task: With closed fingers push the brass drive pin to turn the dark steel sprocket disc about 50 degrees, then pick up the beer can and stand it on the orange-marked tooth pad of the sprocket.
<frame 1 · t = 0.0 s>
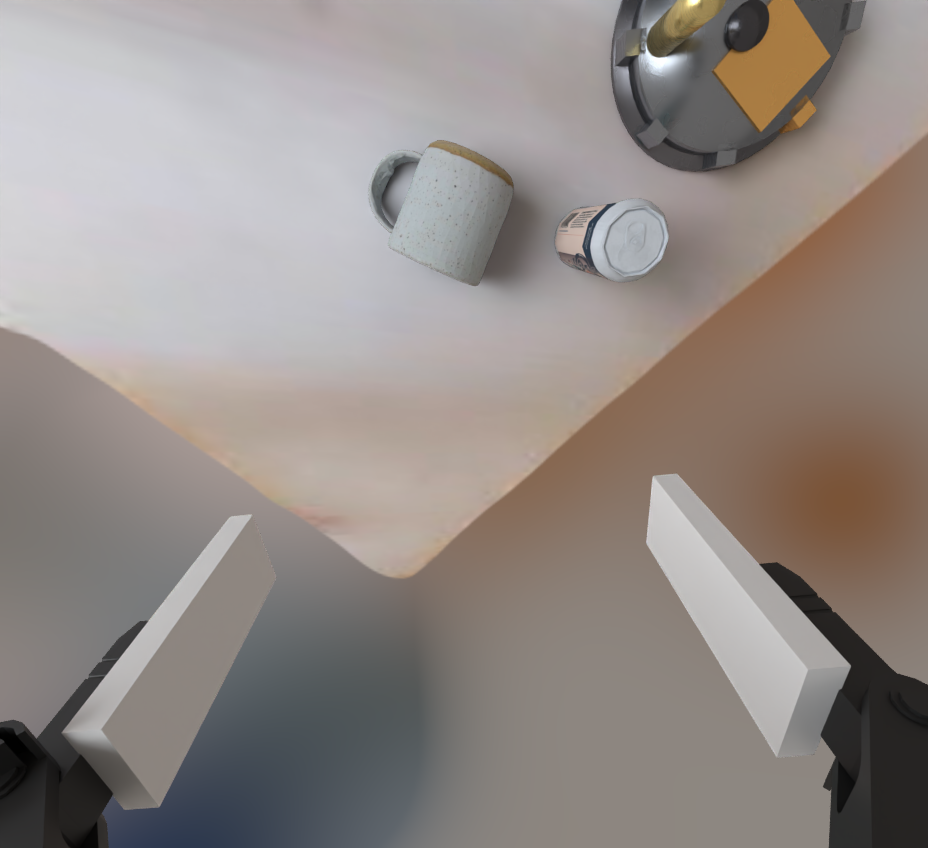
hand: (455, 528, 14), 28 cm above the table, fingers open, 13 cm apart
beer can: (580, 238, 37), on the table
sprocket: (763, 15, 27), point 5 cm above the table, hinge at 0.0°
ceramic mug: (436, 214, 36), on the table
hub plate: (720, 44, 31), on the table
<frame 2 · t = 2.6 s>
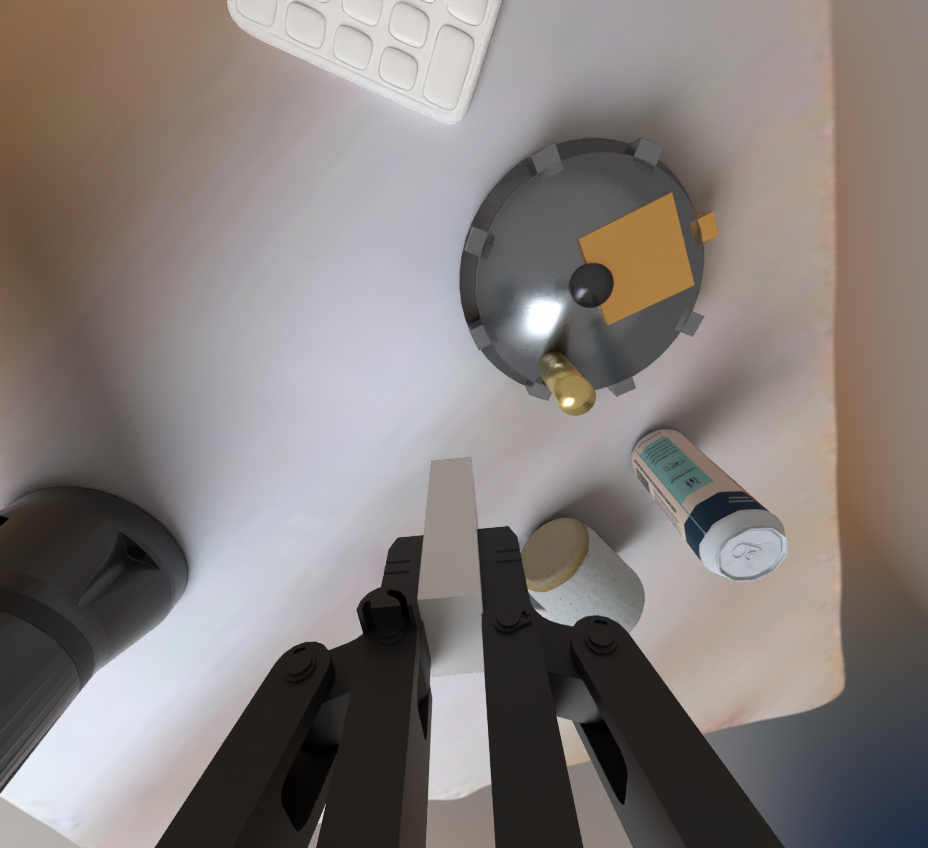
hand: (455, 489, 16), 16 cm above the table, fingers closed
beer can: (656, 451, 35), on the table
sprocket: (599, 289, 25), point 5 cm above the table, hinge at 0.0°
ceramic mug: (555, 555, 39), on the table
hub plate: (577, 280, 29), on the table
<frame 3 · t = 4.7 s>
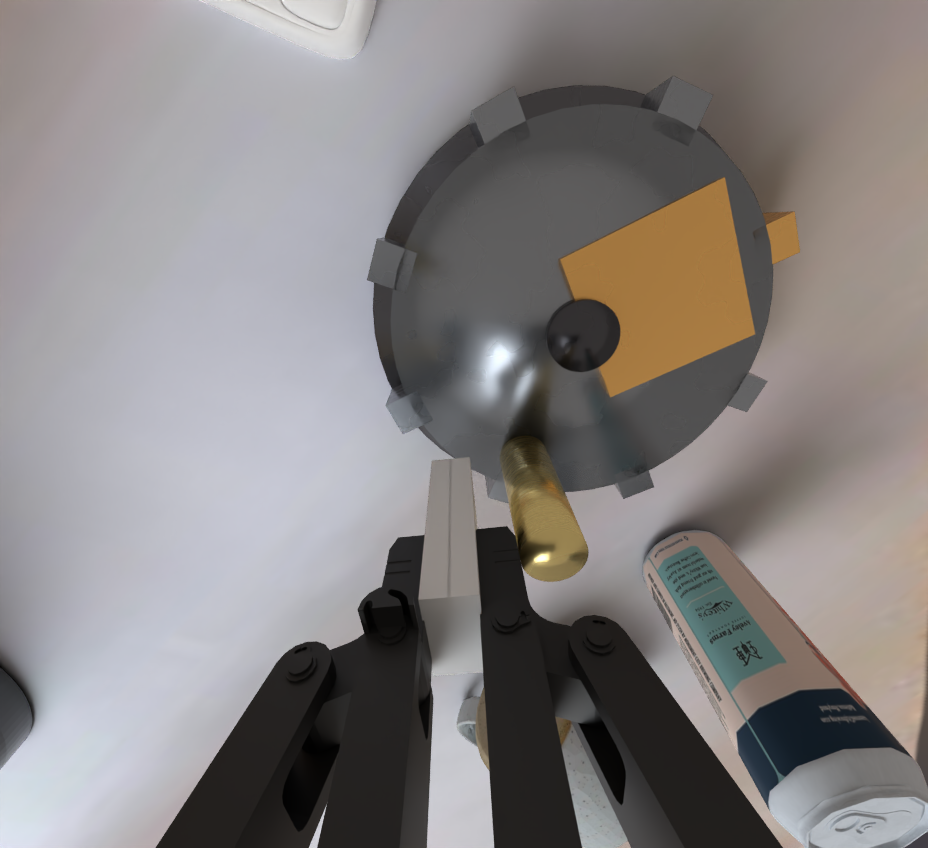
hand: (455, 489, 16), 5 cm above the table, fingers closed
beer can: (679, 555, 24), on the table
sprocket: (596, 347, 14), point 5 cm above the table, hinge at 0.1°, touching gripper
ceramic mug: (532, 683, 29), on the table
hub plate: (562, 319, 18), on the table
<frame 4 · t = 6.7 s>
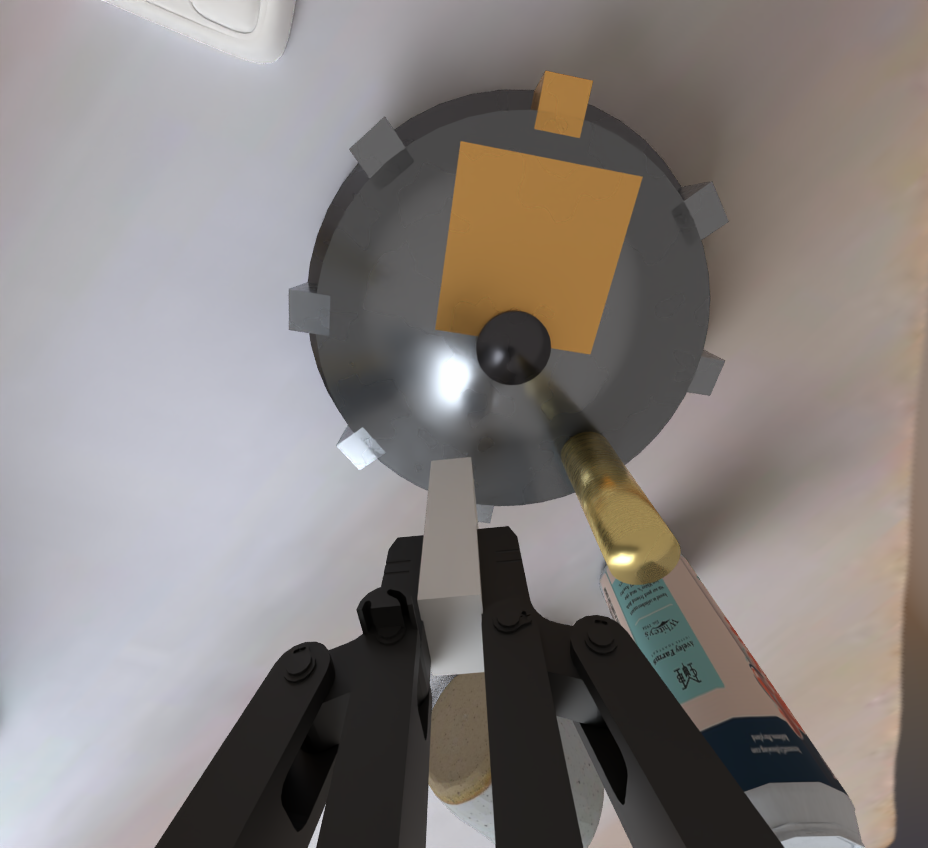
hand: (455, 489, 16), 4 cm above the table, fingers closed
beer can: (638, 569, 24), on the table
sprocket: (518, 361, 14), point 5 cm above the table, hinge at 54.9°
ceramic mug: (489, 698, 28), on the table
hub plate: (504, 329, 18), on the table
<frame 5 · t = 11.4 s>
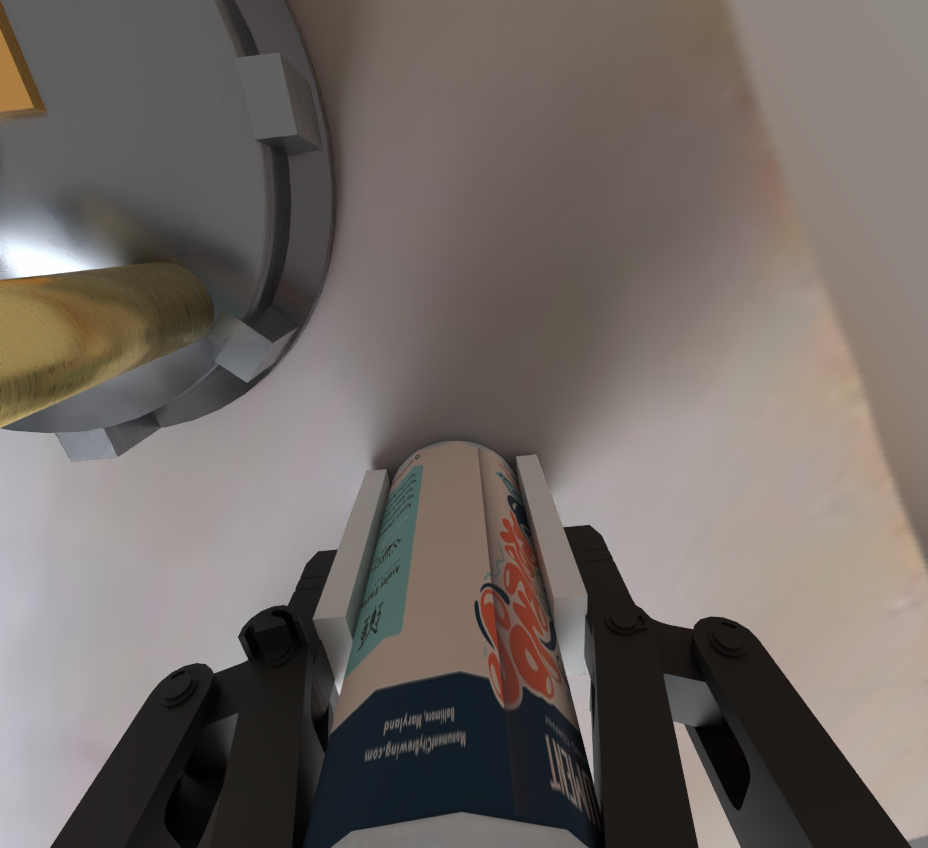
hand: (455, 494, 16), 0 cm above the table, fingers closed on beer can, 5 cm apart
beer can: (455, 487, 16), on the table, touching gripper
hub plate: (36, 157, 12), on the table
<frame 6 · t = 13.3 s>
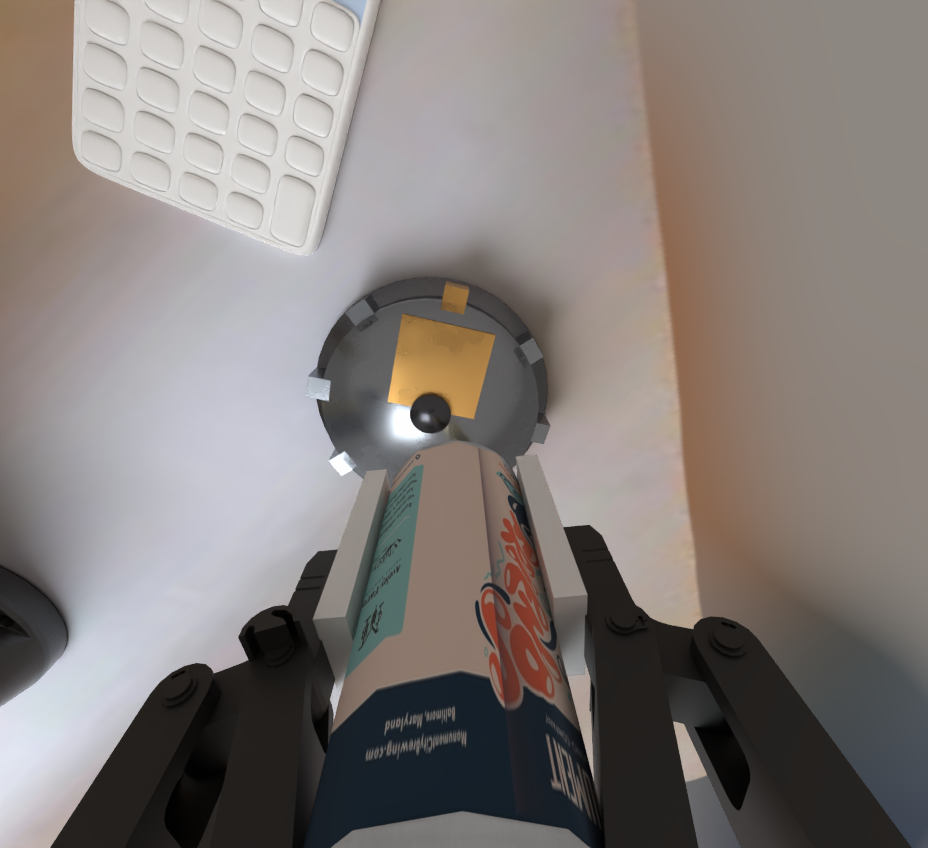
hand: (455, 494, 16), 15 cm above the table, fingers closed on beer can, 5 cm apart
beer can: (455, 487, 16), point 14 cm above the table, touching gripper
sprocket: (429, 424, 26), point 5 cm above the table, hinge at 54.9°
calculator: (240, 17, 22), on the table
hub plate: (432, 396, 30), on the table
when the fingers open (5 cm above the table, at t = 15.5 s): beer can drops 1 cm, resting on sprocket.
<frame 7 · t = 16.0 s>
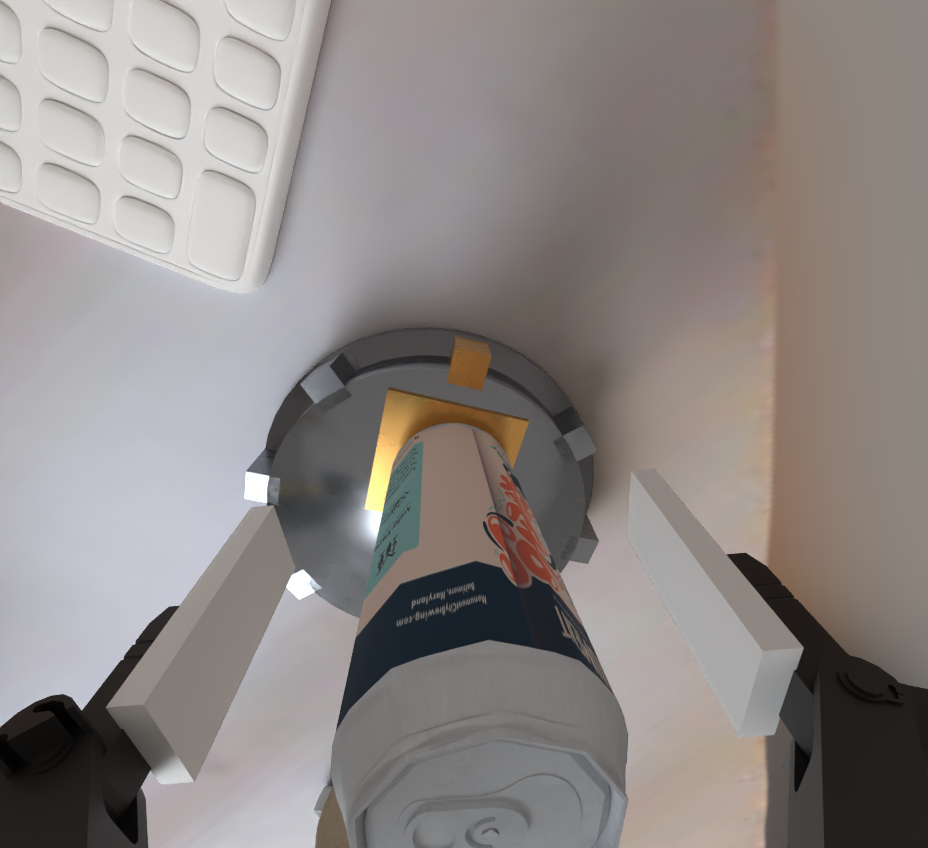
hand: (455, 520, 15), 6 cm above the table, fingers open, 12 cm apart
beer can: (450, 472, 17), point 3 cm above the table, touching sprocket
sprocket: (425, 551, 17), point 5 cm above the table, hinge at 54.9°, touching beer can
ceramic mug: (388, 773, 32), on the table
hub plate: (431, 487, 21), on the table
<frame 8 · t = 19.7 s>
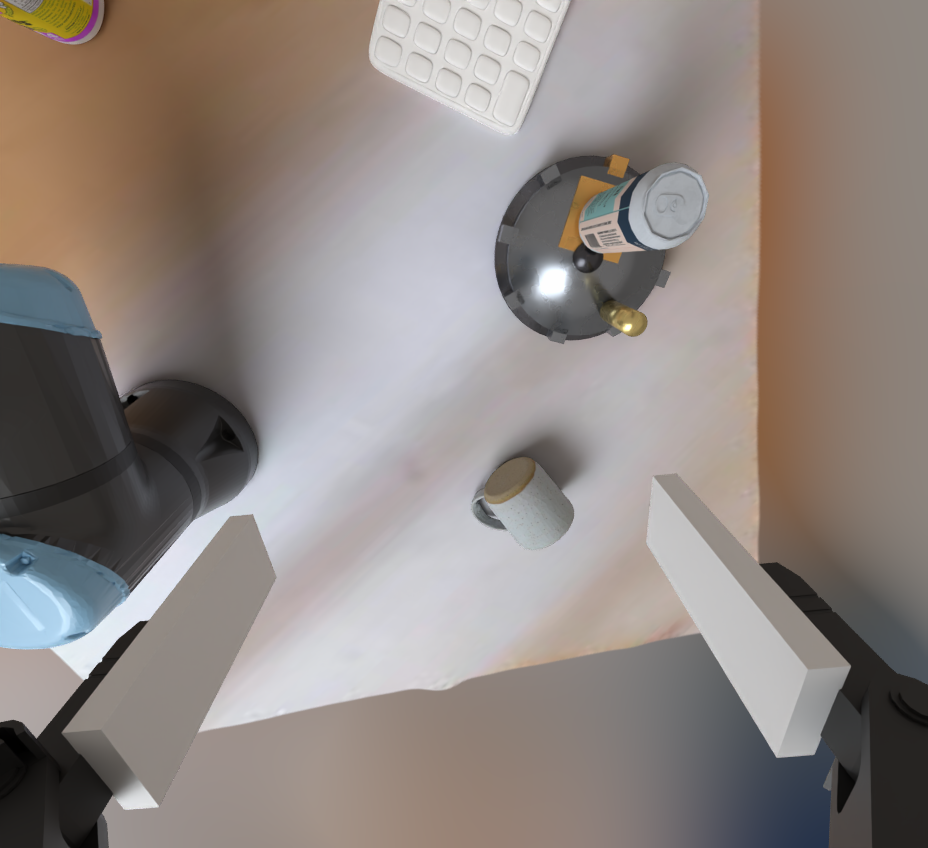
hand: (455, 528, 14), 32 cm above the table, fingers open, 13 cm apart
beer can: (603, 223, 37), point 3 cm above the table, touching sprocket
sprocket: (593, 258, 36), point 5 cm above the table, hinge at 54.9°, touching beer can
ceramic mug: (513, 489, 52), on the table
hub plate: (578, 255, 40), on the table
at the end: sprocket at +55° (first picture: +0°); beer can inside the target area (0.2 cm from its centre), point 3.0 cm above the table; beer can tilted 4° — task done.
